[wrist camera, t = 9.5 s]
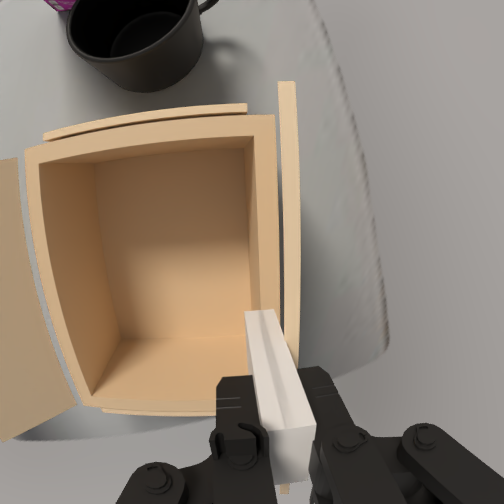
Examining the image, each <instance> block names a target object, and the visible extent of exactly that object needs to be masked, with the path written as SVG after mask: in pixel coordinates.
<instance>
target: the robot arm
mask: <svg viewBox="0 0 504 504" xmlns="http://www.w3.org/2000/svg"><path fill="white" fill-rule="evenodd" d="M244 317H245V334H246V350H247V365H248V373H249V375H243V376H228V377H222V378H221V380H220V381H219V383H218V385H217V386H216V428H215V429H214V430H213V431H212V432H211V435H210V438H209V443H210V447H211V452H212V454H211V455H210V456H209V458H208V459H206V460H205V461H203V462H201V463H199V464H197V465H193V466H190V467H185V468H181V469H177V468H176V467H175V466H173V465H170V464H167V463H162V462H154V463H148V464H145V465H143V466H141V467H139V468H137V470H136V471H135V472H134V473H133V474H132V476H131V477H130V479H129V481H128V483H127V484H126V486H125V488H124V490H123V491H122V493H121V495H120V497H119V498H118V500H117V502H116V504H277V499H276V492H275V487H274V485H278V484H288V483H294V482H300V481H306V480H308V475H309V474H310V477H311V481H312V484H313V487H312V491H311V496H310V504H314V503H315V504H504V478H503V477H501V476H500V475H499V474H497V473H496V472H495V471H494V470H493V469H491V468H490V467H489V466H487V465H486V464H485V463H484V462H482V461H481V460H480V459H478V458H477V457H476V456H475V455H473V454H472V453H471V452H470V451H468V450H467V449H466V448H465V447H463V446H462V445H461V444H459V443H458V442H457V441H456V440H455V439H453V438H452V437H451V436H450V435H448V434H447V433H446V432H445V431H443V430H442V429H441V428H439V427H437V426H435V425H433V424H428V423H420V424H415V425H413V426H410V427H409V428H408V429H407V430H406V431H405V432H404V434H403V436H402V437H374V436H371V435H370V434H369V433H368V432H367V431H366V430H364V429H362V428H360V427H358V426H355V424H354V422H353V420H352V419H351V417H350V415H349V413H348V411H347V409H346V407H345V405H344V403H343V401H342V399H341V397H340V395H339V394H338V391H337V389H336V387H335V386H334V383H333V381H332V379H331V377H330V375H329V374H328V373H327V372H326V371H324V370H323V369H322V368H321V367H319V366H316V367H309V368H302V369H296V367H295V365H294V362H293V359H292V356H291V354H290V351H289V348H288V346H287V343H286V341H284V335H283V332H282V329H281V327H280V324H279V321H278V319H277V316H276V313H275V311H274V309H269V310H256V311H244Z"/></svg>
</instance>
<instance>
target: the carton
mask: <svg viewBox="0 0 504 504" xmlns="http://www.w3.org/2000/svg"><path fill="white" fill-rule="evenodd" d="M246 114H247V103H238V104H217V105H202V106H190V107H180V108H171V109H162V110H154V111H147V112H140V113H134V114H128V115H122V116H116V117H111V118H105V119H100V120H95V121H91V122H86V123H82V124H77V125H73V126H69V127H65V128H61V129H57V130H53V131H50V132H46V133H43V141H49V143H45V144H41V145H38V146H34V147H30V148H27V149H25V172H26V187H27V198H28V207H29V216H30V223H31V230H32V237H33V243H34V248H35V254H36V259H37V264H38V269H39V273H40V278H41V282H42V286H43V291H44V294H45V298H46V302H47V306H48V309H49V313H50V316H51V320H52V323H53V326H54V330H55V333H56V336H57V339H58V342H59V345H60V348H61V350H62V353H63V356H64V359H65V361H66V364H67V367H68V369H69V372H70V374H71V377H72V379H73V382H74V384H75V386H76V389H77V391H78V393H79V396H80V398H81V400H82V402H83V405H84V406H92V407H101V409H102V412H106V413H117V414H130V415H148V416H216V386H217V385H218V383H219V381H220V380H221V378H222V377H228V376H243V375H249V373H248V365H247V350H246V334H245V317H244V311H256V310H269V309H274V311H275V313H276V316H277V319H278V321H279V324H280V263H279V216H278V183H277V156H276V132H275V115H246Z"/></svg>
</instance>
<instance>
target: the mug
mask: <svg viewBox="0 0 504 504" xmlns="http://www.w3.org/2000/svg"><path fill="white" fill-rule="evenodd" d="M218 1H219V0H207V1H205V2H204V3H202V4H201V5H199V6H198V2H197V0H76V1H75V3H74V4H73V6H72V8H71V11H70V13H69V16H68V20H67V26H66V32H67V39H68V42H69V45H70V46H71V48H72V49H73V51H74V52H75V53H76V54H77V55H78V56H79V57H81V58H82V59H84V60H85V61H86V62H88V63H89V64H90V65H92V66H93V67H95V68H96V69H97V70H99V71H100V72H101V73H103V74H104V75H105V76H107V77H108V78H109V79H111V80H112V81H113V82H115V83H116V84H117V85H119V86H120V87H122V88H124V89H127V90H130V91H134V92H152V91H157V90H161V89H164V88H166V87H169V86H171V85H173V84H175V83H176V82H178V81H179V80H181V79H182V78H183V77H184V76H186V75H187V74H188V73H189V72H190V71H191V69H192V68H193V67H194V66H195V64H196V63H197V61H198V59H199V57H200V54H201V51H202V48H203V34H202V28H201V21H200V15H201V14H202V13H203V12H204V11H206V10H208V9H210V8H211V7H212V6H214V5H215V4H216V3H217V2H218Z"/></svg>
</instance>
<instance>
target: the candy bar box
mask: <svg viewBox="0 0 504 504" xmlns="http://www.w3.org/2000/svg"><path fill="white" fill-rule="evenodd" d="M44 1H45V2H46V3H48V4H49V5H50V6H51V7H52V8H53V9H55V10H56V11H68V10H71V8H72V6H73V4H74V3H75V1H76V0H44Z"/></svg>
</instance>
